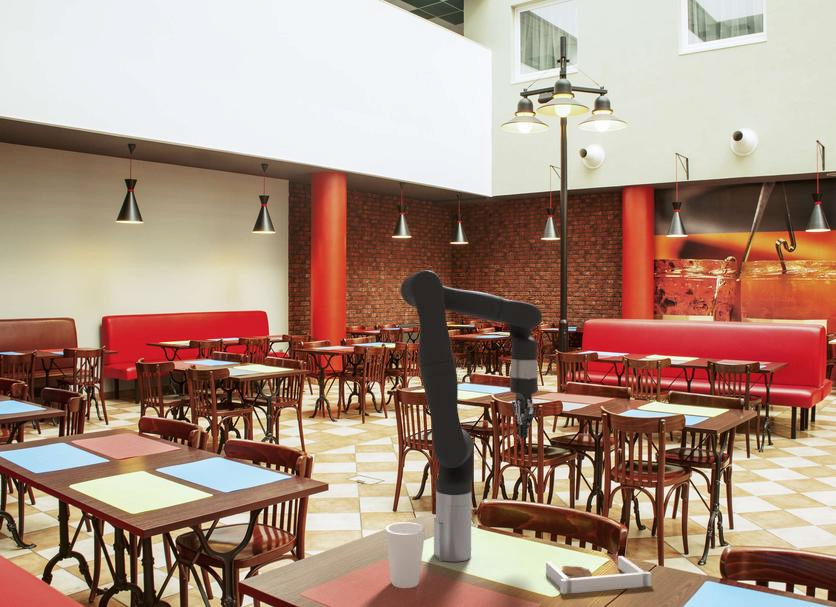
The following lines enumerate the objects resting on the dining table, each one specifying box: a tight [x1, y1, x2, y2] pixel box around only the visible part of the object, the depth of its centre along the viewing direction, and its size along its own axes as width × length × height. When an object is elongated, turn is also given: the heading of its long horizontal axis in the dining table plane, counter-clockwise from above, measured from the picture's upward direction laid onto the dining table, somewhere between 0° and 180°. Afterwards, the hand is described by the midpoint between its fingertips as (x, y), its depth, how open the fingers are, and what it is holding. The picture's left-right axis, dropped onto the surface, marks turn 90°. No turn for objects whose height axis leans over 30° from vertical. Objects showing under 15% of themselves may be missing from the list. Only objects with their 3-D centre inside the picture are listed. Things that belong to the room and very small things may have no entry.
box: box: [545, 555, 652, 595], centre depth 178 cm, size 22×12×3 cm, turn 103°
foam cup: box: [384, 521, 426, 589], centre depth 176 cm, size 10×9×13 cm
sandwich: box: [561, 565, 593, 578], centre depth 178 cm, size 11×8×2 cm
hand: (523, 437), depth 206 cm, fingers closed
